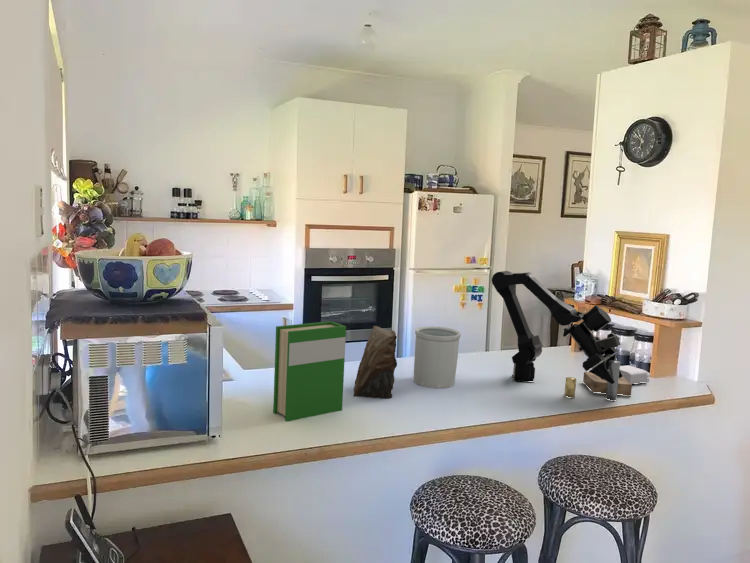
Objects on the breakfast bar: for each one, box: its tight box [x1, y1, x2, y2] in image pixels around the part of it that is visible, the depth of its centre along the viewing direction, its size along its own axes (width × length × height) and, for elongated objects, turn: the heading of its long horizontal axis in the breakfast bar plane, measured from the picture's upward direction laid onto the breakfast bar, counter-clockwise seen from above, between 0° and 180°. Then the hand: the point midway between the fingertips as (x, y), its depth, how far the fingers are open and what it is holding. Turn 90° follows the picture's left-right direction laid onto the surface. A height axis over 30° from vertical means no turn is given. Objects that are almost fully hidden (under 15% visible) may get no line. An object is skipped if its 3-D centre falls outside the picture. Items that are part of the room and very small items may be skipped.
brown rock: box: [353, 325, 398, 400], centre depth 181 cm, size 13×13×20 cm
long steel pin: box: [605, 359, 621, 401], centre depth 187 cm, size 3×3×12 cm
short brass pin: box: [563, 376, 577, 397], centre depth 189 cm, size 3×3×6 cm
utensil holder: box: [413, 325, 461, 389], centre depth 195 cm, size 15×15×18 cm
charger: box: [620, 365, 651, 384], centre depth 212 cm, size 5×9×15 cm
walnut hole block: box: [582, 371, 633, 396], centre depth 199 cm, size 12×12×4 cm
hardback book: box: [272, 320, 347, 423], centre depth 161 cm, size 18×7×24 cm, turn 128°
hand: (617, 380), depth 187 cm, fingers open, 9 cm apart
